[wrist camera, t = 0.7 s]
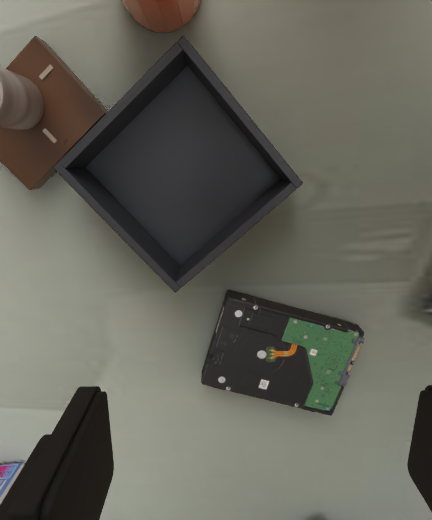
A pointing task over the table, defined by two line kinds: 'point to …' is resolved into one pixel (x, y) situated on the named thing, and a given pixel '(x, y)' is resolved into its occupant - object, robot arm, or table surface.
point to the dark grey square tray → (178, 167)
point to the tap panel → (48, 116)
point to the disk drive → (281, 353)
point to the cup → (162, 13)
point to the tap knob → (19, 101)
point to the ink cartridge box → (8, 477)
